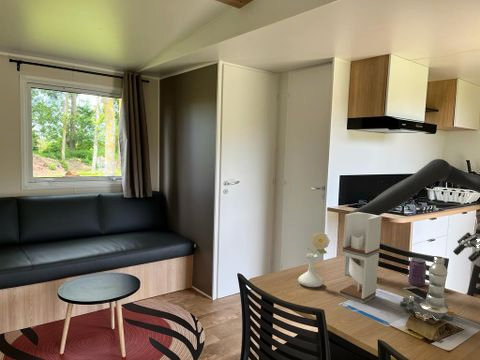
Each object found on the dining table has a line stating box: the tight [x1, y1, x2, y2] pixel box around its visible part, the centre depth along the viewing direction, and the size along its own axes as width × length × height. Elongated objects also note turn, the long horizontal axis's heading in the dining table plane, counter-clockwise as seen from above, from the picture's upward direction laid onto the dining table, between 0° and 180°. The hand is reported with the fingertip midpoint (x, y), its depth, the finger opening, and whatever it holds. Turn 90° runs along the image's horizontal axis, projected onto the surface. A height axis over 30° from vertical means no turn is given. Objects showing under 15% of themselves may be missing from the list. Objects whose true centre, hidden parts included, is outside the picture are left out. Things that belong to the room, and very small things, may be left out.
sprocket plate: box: [399, 295, 455, 322], centre depth 139 cm, size 19×18×4 cm
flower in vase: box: [297, 231, 331, 288], centre depth 159 cm, size 13×11×25 cm
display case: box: [339, 212, 383, 304], centre depth 149 cm, size 11×11×35 cm
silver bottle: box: [426, 255, 448, 309], centre depth 137 cm, size 6×7×20 cm
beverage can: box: [407, 257, 428, 287], centre depth 166 cm, size 7×7×12 cm
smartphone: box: [402, 286, 428, 299], centre depth 155 cm, size 8×1×15 cm
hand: (462, 256), depth 137 cm, fingers open, 8 cm apart
